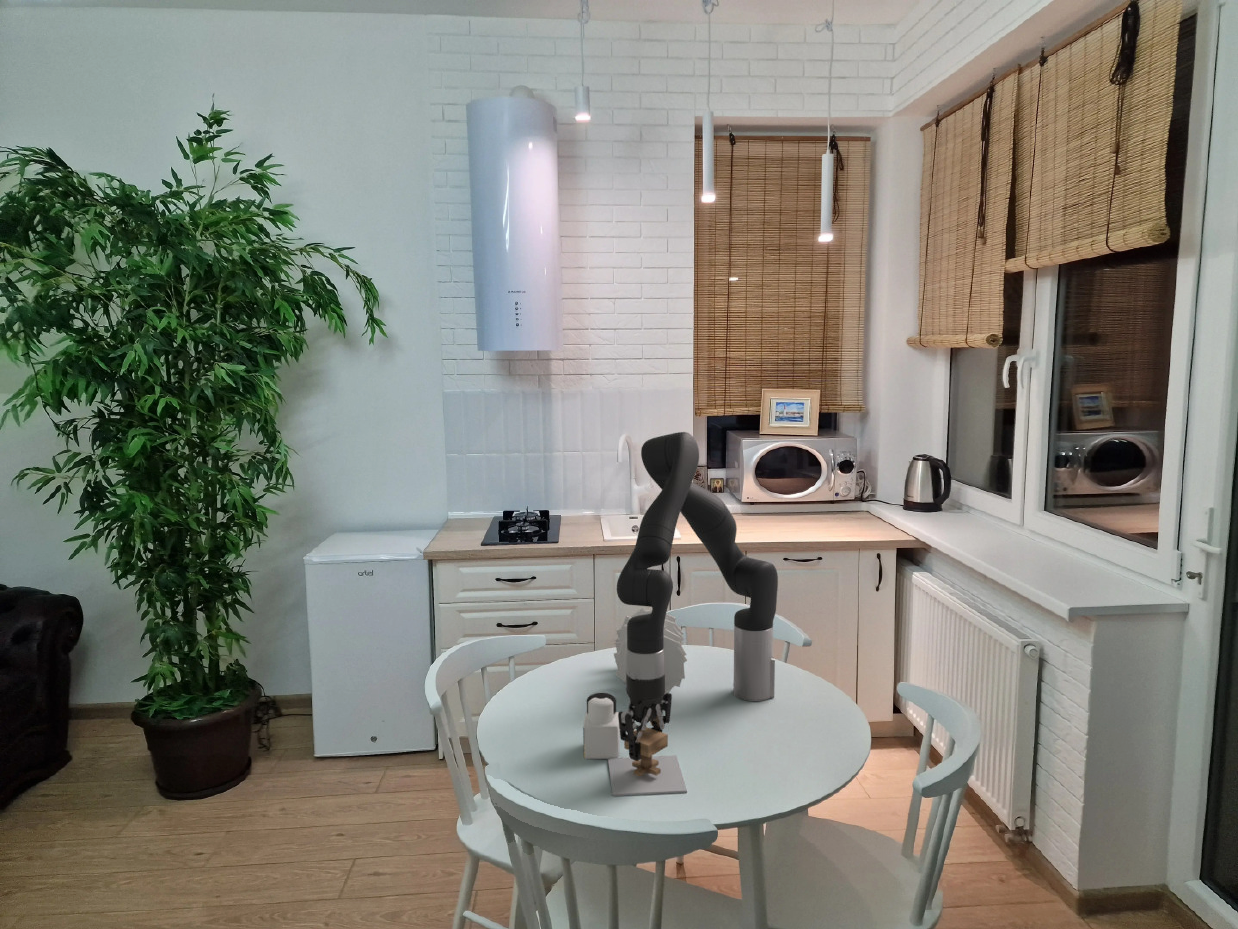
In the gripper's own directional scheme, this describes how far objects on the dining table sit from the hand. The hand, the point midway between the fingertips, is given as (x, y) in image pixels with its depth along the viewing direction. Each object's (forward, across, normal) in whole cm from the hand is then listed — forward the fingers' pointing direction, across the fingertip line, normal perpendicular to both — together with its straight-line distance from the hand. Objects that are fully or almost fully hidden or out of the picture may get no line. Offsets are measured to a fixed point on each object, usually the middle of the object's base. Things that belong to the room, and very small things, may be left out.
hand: (645, 752), depth 163 cm
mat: (+5, 0, 0) cm, 5 cm away
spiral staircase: (+5, -37, -28) cm, 47 cm away
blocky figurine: (+5, -2, -13) cm, 14 cm away
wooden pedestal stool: (+3, 0, 0) cm, 3 cm away
